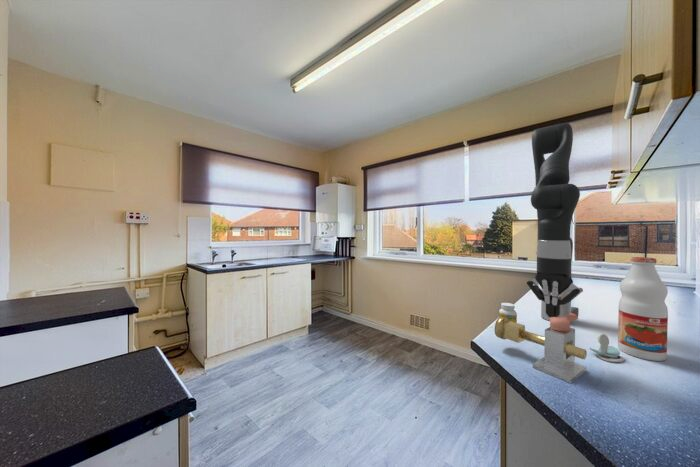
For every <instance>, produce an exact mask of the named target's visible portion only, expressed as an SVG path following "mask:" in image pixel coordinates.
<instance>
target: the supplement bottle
mask: <svg viewBox="0 0 700 467" xmlns="http://www.w3.org/2000/svg"><path fill="white" fill-rule="evenodd" d="M500 304H501V305H500V306H501V308H500V309H499V310H498V312H499V313H498V318H499V317H505V318H508V319H509V320H510V321H512V322H516V323H518V322H517V319H518V318H517V317H518V313H517V311H516V310H515V304H513V303H511V302H510V303H509V302H501V303H500Z"/></svg>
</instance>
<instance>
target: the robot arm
mask: <svg viewBox="0 0 700 467" xmlns="http://www.w3.org/2000/svg"><path fill="white" fill-rule="evenodd" d="M573 132H574V131H573V127H572V125H571V124H570V123H568V122H565V123H564V122H562V123H557V124H553V125H548V126H544V127H540V128H536V129H534V130H533V132H532V135H531V149H532V156H533V166H534V174H535V176H534V178H535V187H534V189H533V190H532V192H531V197H530V204H531V206H532V207H533V208H534V209H536V216H537V245H536V246H537V247H536V274H535V276H534V278H532V279H531V280H528V281H527V282H526V285H527V286H528V287H529V288H530V290H531V292H532V293H533V294H534V295H535V296H536V298H537V299H538V301H541V305H540V306H541V309H540V314H541V315H540V316H541V318H542V319H544V320H546V321H549V322H550V318H551V317H559V318H561V317H563V316H565V315H567V314H570V313H571V307H572V301H573V300H574V299H575V298H576V297H577V296H579V295H581V294H582V293H583V292H584V290H583V289H584V288H582V287H578V286H577V285H576V284H574V281H573V279H572V263H573V259H572V258H573V250H574V243H573V239H572V237H571V225H572V218H573V215H574V212H575V210H576V208H577V205H578V203H579V201H580V197H581V192H580V189H579V187H578V186H577V185H576V184H573V183H570V167H569V166H570V161H571V160H570V159H571V155H572V149H573V140H574V133H573ZM547 154H550V155H549V156H548V157H547V158H546V159H545V155H547Z"/></svg>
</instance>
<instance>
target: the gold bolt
mask: <svg viewBox="0 0 700 467" xmlns="http://www.w3.org/2000/svg"><path fill="white" fill-rule="evenodd" d="M494 334H495V336H496V337H497V338H498V339H502V340H510V341H511V342H515V343H518V344H519V343H521V342H524V341H529V342H532V343H534V344H537V345H540V346H544V347H545V335H544V336H543V335H539V334H536V333H535V332H530V331H527V330H526V325H525V324H523V323H519V322H517V323H516V322H512V321H510V320H509V319H508V318H505V317H499V316H498V318H497V319H496V322H495V324H494ZM587 352H588V351H587V349H585V348H581V347H580V346H579V347H578V346H576V345H575V346H572V345H569V344H566V354H569V355H572V356H575V358H579V359H581V360H586V358H587Z"/></svg>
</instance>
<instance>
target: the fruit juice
mask: <svg viewBox="0 0 700 467" xmlns="http://www.w3.org/2000/svg"><path fill="white" fill-rule="evenodd" d="M630 263H631V266H630V268H629V270H628V272H627V274H626V276H625V277H624V278H623V279H622V280H621V281H620V284H619V290H620V294H621V297H620V298H619V301H618V317H617V319H618V321H617V322H618V324H617V328H618V329H617V346H618V350H619V351H620V352H621V351H622V352H623V353H625V354H627V355H629V356H632V357H635V358H637V359H638V358H639V359H643V360H647V361H655V362H663V361H665V360H666V359H667V357H668V326H669V325H668V320H669V311H668V306H667V304H666V301H665V300H666V299H667V296H668V294H669V292H668V287H667V285H666V284H665V283H664V281H662V279H661V277H660V275H659V273H658V271H657V269H656V265H657V258H654V257H646V256H644V257H643V256H631V258H630Z"/></svg>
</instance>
